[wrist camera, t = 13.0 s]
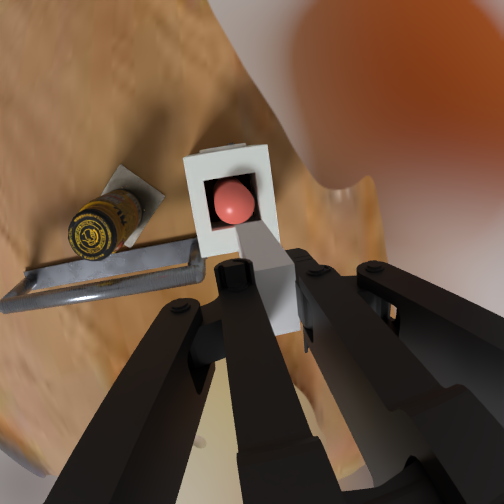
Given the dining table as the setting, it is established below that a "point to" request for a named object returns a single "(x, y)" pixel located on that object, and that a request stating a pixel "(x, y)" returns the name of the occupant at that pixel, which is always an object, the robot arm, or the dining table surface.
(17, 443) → the dining table surface
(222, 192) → the plunger
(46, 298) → the handrail
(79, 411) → the dining table surface
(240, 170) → the cabinet
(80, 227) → the condiment
